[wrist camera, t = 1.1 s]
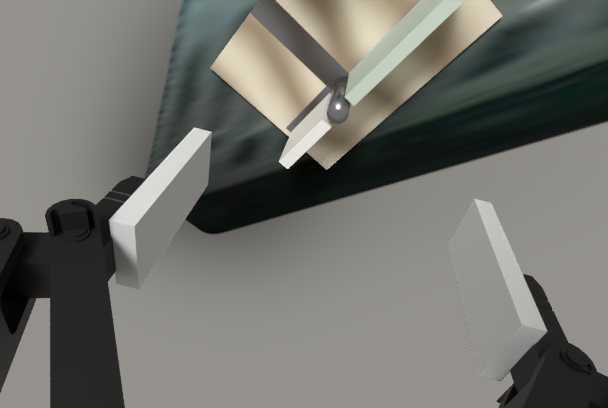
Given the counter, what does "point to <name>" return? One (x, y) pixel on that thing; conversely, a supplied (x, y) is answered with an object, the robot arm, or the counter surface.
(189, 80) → the counter surface
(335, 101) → the post
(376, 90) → the board
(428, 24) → the hinged panel
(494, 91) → the counter surface
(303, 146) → the fixed panel
